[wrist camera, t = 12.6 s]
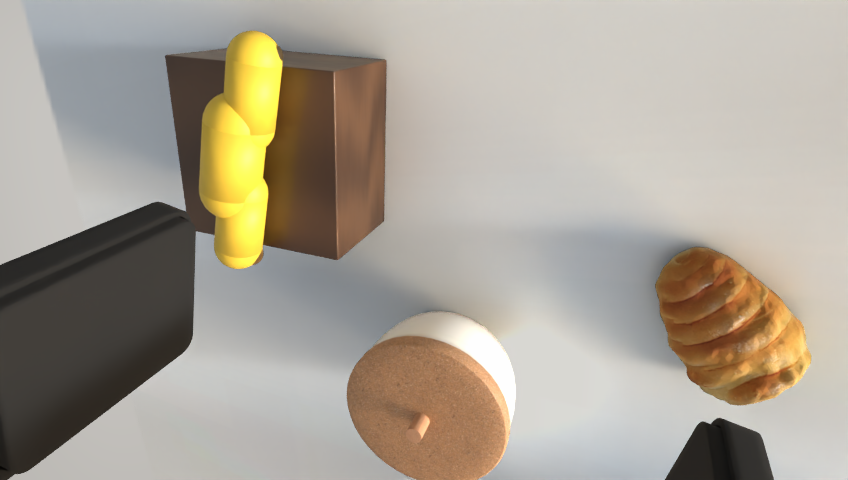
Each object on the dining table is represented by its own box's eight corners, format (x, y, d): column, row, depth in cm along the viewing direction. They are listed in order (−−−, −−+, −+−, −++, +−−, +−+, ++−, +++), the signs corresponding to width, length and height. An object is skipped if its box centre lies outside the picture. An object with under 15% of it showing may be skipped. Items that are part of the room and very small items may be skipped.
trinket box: (498, 271, 38) (460, 344, 30) (550, 402, 40) (527, 502, 32) (369, 304, 43) (306, 374, 35) (423, 419, 45) (375, 510, 37)
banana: (215, 16, 29) (198, 25, 26) (291, 33, 30) (283, 44, 27) (203, 245, 36) (188, 274, 33) (266, 255, 36) (256, 283, 33)
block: (239, 46, 38) (164, 54, 32) (387, 59, 35) (334, 71, 29) (252, 198, 43) (188, 229, 37) (384, 221, 40) (337, 260, 34)
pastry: (625, 274, 35) (624, 302, 32) (732, 220, 32) (744, 244, 28) (707, 388, 36) (714, 427, 33) (818, 347, 33) (839, 386, 29)
